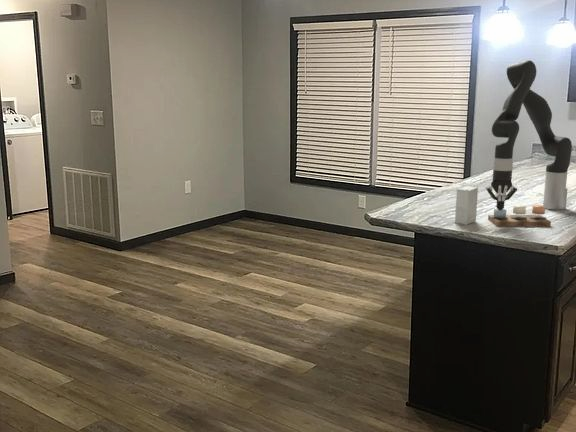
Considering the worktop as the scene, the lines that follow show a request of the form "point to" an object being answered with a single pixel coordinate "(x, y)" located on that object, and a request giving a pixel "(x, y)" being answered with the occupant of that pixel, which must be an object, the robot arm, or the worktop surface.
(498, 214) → the button slate
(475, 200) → the skincare box
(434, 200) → the worktop surface
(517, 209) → the button cream
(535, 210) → the button terracotta
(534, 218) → the board
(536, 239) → the worktop surface
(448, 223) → the worktop surface
